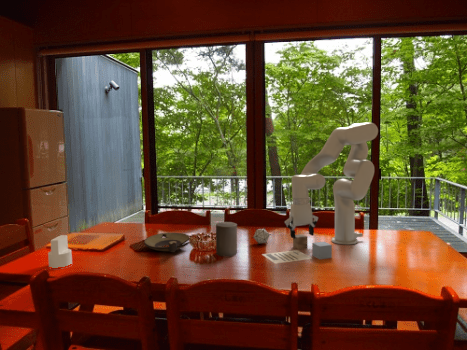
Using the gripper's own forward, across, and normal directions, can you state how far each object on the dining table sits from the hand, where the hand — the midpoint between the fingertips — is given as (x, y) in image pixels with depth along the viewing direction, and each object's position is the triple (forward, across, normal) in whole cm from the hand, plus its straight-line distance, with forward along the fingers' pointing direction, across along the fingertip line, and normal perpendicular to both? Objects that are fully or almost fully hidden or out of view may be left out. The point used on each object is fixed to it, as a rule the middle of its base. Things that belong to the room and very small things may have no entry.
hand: (302, 236), depth 182 cm
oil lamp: (+3, +62, -21) cm, 65 cm away
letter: (+5, +14, +10) cm, 18 cm away
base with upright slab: (0, +107, -15) cm, 108 cm away
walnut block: (+6, +2, 0) cm, 6 cm away
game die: (+5, +16, -14) cm, 21 cm away
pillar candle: (+4, +36, -5) cm, 37 cm away
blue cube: (+6, 0, +16) cm, 17 cm away
